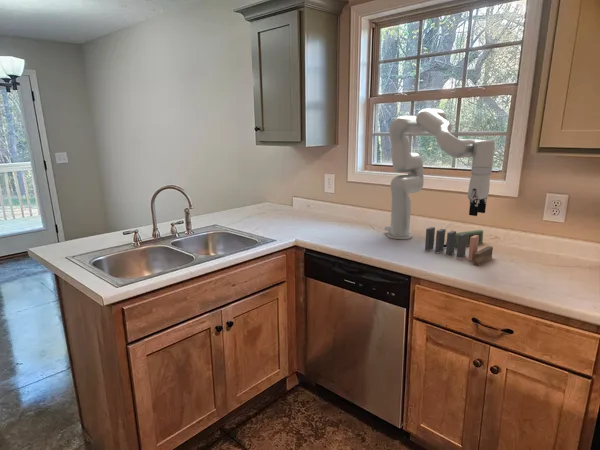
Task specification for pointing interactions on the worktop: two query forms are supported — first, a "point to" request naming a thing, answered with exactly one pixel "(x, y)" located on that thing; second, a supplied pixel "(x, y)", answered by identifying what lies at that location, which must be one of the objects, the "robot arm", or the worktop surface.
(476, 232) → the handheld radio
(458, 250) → the domino
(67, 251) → the worktop surface
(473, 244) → the domino
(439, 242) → the domino
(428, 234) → the domino
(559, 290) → the worktop surface
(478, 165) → the robot arm
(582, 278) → the worktop surface
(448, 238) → the domino
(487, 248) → the bar
